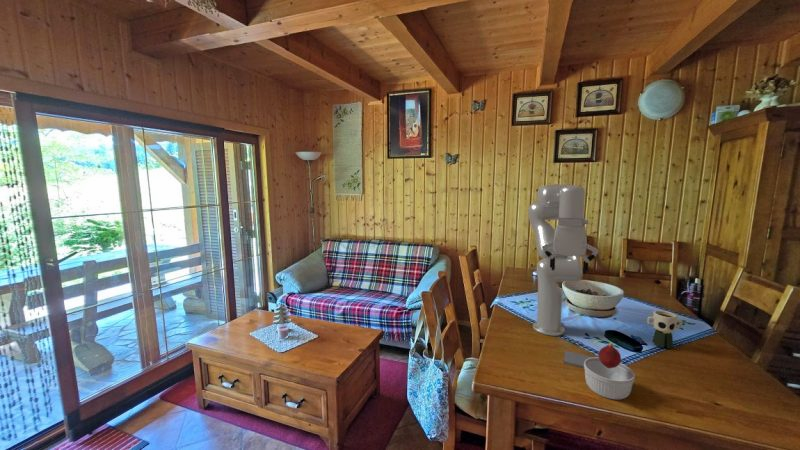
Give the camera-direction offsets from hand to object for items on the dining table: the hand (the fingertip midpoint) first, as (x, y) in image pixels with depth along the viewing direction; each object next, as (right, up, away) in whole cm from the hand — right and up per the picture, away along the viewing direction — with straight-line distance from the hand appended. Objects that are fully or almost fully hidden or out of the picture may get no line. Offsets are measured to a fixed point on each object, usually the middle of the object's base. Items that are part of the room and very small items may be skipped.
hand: (568, 271), depth 113 cm
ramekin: (+6, -35, -12) cm, 38 cm away
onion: (+6, -28, -13) cm, 32 cm away
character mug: (+44, -31, +13) cm, 55 cm away
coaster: (+5, -33, +4) cm, 34 cm away
